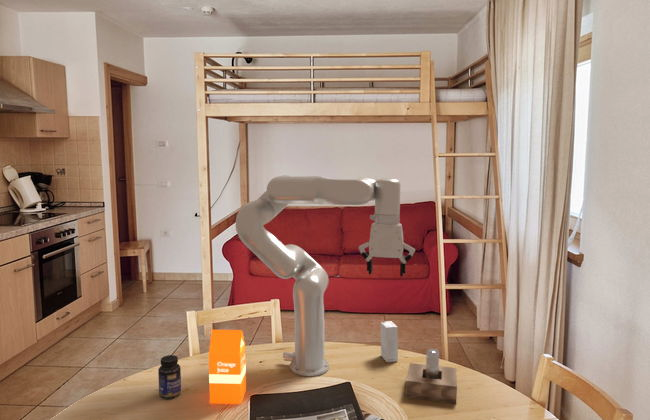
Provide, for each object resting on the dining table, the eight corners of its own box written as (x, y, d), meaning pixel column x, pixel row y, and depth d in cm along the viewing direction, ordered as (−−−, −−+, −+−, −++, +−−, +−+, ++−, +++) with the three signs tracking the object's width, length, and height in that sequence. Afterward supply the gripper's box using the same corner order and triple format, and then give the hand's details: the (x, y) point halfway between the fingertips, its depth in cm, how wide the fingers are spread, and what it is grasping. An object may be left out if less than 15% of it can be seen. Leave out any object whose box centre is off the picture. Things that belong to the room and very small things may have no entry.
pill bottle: (169, 402, 138) (167, 364, 136) (154, 396, 141) (153, 359, 139) (185, 393, 143) (184, 356, 141) (171, 387, 146) (170, 352, 145)
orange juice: (216, 390, 145) (215, 324, 142) (246, 390, 144) (245, 325, 142) (209, 403, 137) (207, 334, 134) (241, 404, 137) (239, 335, 134)
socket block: (405, 397, 141) (406, 380, 140) (409, 378, 152) (409, 363, 152) (456, 403, 137) (456, 386, 137) (455, 383, 149) (456, 368, 148)
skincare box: (398, 361, 164) (399, 326, 163) (385, 362, 163) (386, 327, 162) (391, 354, 170) (392, 320, 169) (379, 355, 169) (380, 321, 168)
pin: (425, 389, 144) (426, 353, 142) (425, 383, 147) (426, 348, 146) (437, 390, 143) (439, 354, 141) (437, 384, 146) (439, 349, 145)
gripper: (356, 220, 148) (356, 275, 150) (415, 222, 143) (413, 279, 146) (361, 216, 155) (360, 269, 157) (416, 218, 151) (415, 273, 153)
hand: (386, 274), depth 151 cm, fingers open, 9 cm apart
